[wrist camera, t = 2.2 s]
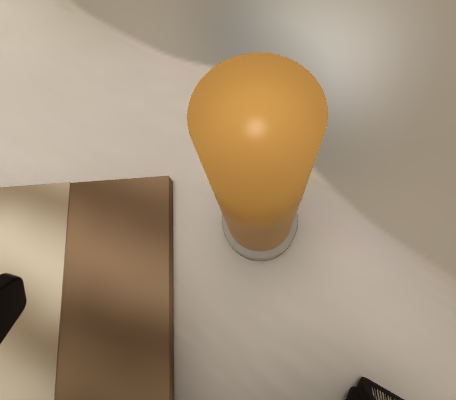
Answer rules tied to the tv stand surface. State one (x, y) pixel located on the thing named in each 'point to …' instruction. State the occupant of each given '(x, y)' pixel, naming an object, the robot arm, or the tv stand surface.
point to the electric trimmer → (370, 392)
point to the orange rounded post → (258, 146)
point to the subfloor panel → (90, 290)
